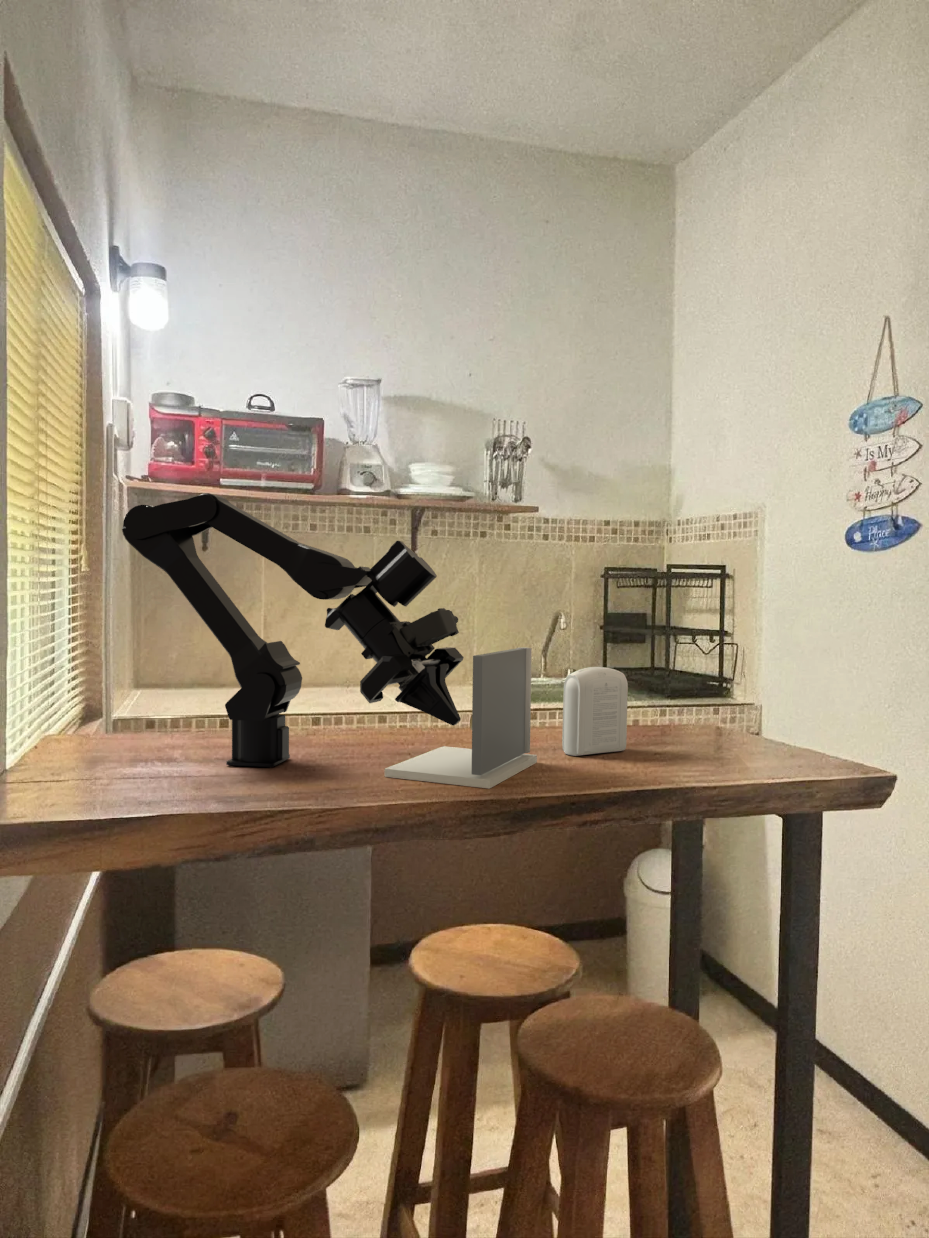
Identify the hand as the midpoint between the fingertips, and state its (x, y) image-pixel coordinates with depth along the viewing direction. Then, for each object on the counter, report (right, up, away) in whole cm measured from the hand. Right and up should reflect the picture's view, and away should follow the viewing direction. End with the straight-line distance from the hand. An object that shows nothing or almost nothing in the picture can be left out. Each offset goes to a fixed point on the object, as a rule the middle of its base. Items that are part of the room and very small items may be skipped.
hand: (457, 722), depth 106 cm
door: (+5, -5, +3) cm, 8 cm away
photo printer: (+20, -7, +18) cm, 27 cm away
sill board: (+1, -7, +5) cm, 8 cm away
